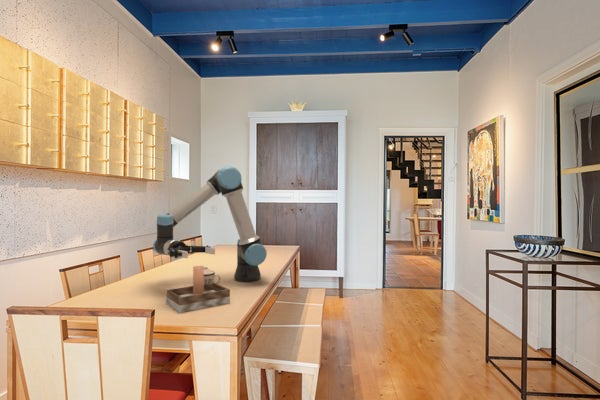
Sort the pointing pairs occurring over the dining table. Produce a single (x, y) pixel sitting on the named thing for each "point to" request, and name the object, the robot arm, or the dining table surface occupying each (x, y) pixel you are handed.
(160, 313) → the dining table surface
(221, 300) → the box
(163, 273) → the dining table surface
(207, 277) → the teacup with lid
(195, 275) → the peg
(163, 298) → the dining table surface
